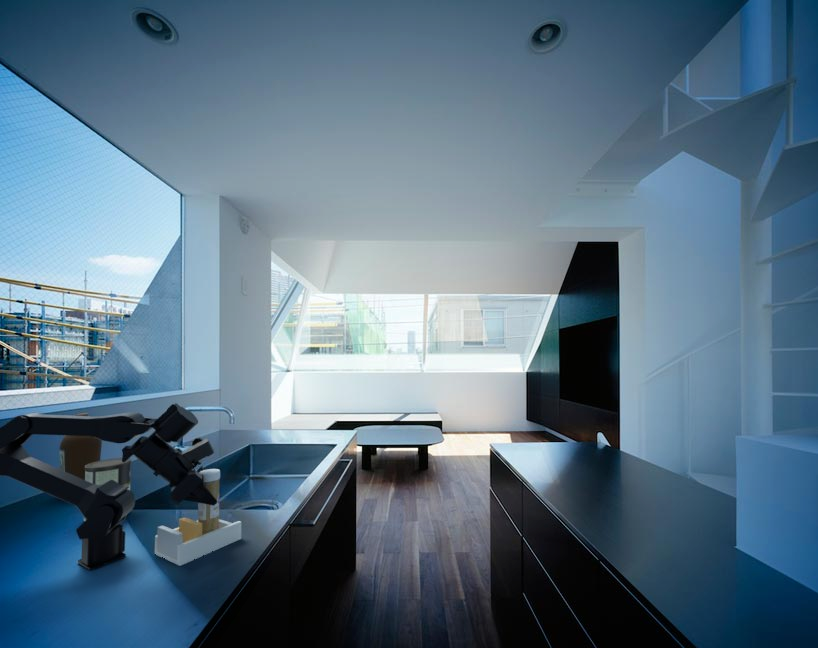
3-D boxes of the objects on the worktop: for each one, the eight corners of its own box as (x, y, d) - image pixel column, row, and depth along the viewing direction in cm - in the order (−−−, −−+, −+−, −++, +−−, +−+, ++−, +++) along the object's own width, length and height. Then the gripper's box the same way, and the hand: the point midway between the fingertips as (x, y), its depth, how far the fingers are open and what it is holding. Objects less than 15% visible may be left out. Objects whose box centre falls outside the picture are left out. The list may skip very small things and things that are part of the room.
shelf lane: (179, 565, 83) (180, 536, 83) (154, 554, 88) (155, 526, 88) (241, 538, 94) (241, 512, 95) (215, 529, 100) (215, 505, 100)
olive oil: (101, 485, 138) (103, 410, 140) (99, 493, 130) (102, 413, 132) (59, 492, 132) (62, 413, 134) (55, 501, 124) (58, 417, 125)
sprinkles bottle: (220, 532, 93) (221, 471, 94) (198, 537, 90) (199, 475, 91) (217, 525, 96) (218, 467, 97) (195, 530, 94) (197, 470, 95)
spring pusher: (196, 549, 87) (196, 525, 87) (178, 542, 91) (179, 519, 91) (202, 547, 88) (202, 523, 88) (184, 540, 92) (184, 517, 92)
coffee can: (119, 506, 118) (121, 456, 119) (137, 512, 113) (138, 460, 114) (76, 518, 110) (77, 464, 111) (92, 526, 104) (94, 469, 105)
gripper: (190, 435, 85) (246, 481, 89) (191, 422, 101) (239, 462, 106) (144, 480, 81) (205, 526, 85) (153, 459, 97) (204, 499, 101)
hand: (215, 500), depth 94 cm, fingers closed on sprinkles bottle, 4 cm apart
